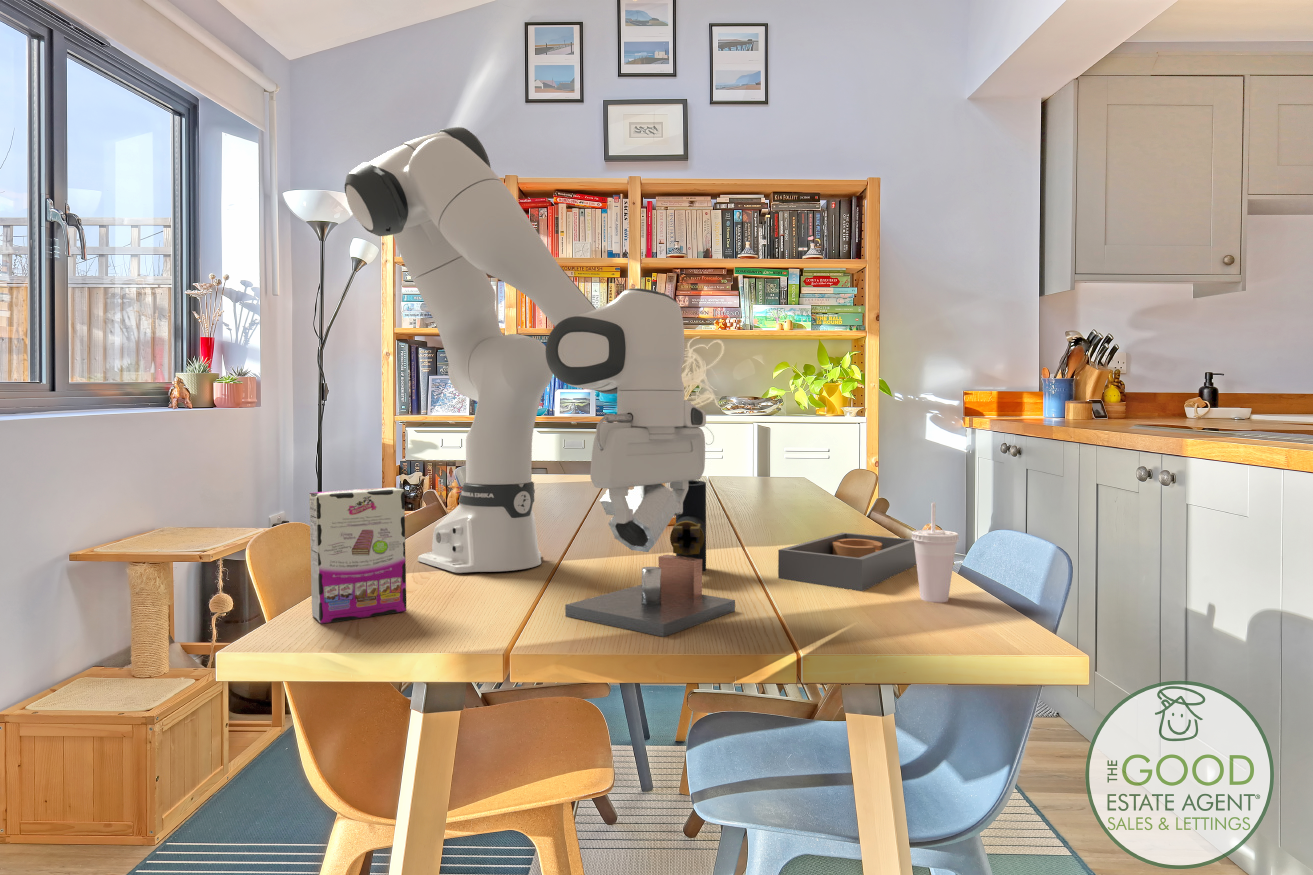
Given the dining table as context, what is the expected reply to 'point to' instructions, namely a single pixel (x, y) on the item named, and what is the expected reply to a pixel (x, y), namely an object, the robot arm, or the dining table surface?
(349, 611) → the candy bar box
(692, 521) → the pipe connector
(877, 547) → the brown oblong hollow piece
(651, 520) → the octagonal handled mug
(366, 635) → the dining table surface
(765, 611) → the dining table surface
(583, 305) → the robot arm
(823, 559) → the parts corral
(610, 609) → the grey square stand
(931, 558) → the smoothie
